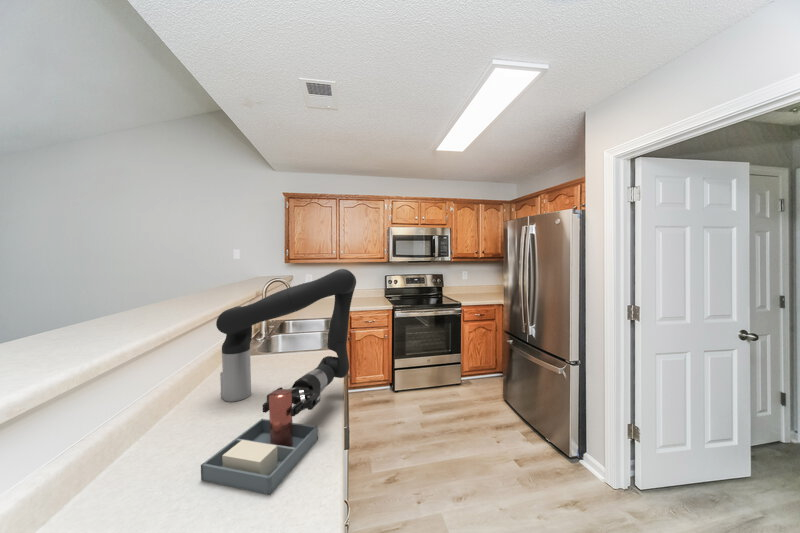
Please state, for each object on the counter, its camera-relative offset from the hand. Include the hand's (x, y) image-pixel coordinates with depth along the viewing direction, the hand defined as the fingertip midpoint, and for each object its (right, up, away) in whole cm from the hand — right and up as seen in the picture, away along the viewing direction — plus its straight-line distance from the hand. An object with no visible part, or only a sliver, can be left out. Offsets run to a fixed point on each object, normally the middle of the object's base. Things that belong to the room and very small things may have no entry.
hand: (277, 411), depth 78 cm
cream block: (-3, -10, -8) cm, 13 cm away
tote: (-2, -11, -3) cm, 12 cm away
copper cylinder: (0, -10, +1) cm, 10 cm away
